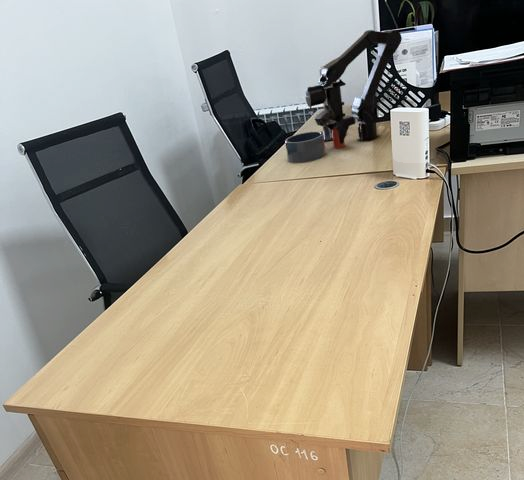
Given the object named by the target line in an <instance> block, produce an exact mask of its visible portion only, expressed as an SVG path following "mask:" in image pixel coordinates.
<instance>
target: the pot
mask: <svg viewBox="0 0 524 480" xmlns="http://www.w3.org/2000/svg"><path fill="white" fill-rule="evenodd" d="M284 144H285V150H286V156H287V160H288V162H289V163H294V164H302V163H308V162H312V161H316V160H319V159H322V158H323V157H325V155H326V145H325V141H324V136H323V133H322V132H321V131H306V132H301V133H297V134H293V135H291V136H289V137H287V138H286V139H285V140H284Z"/></svg>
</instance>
